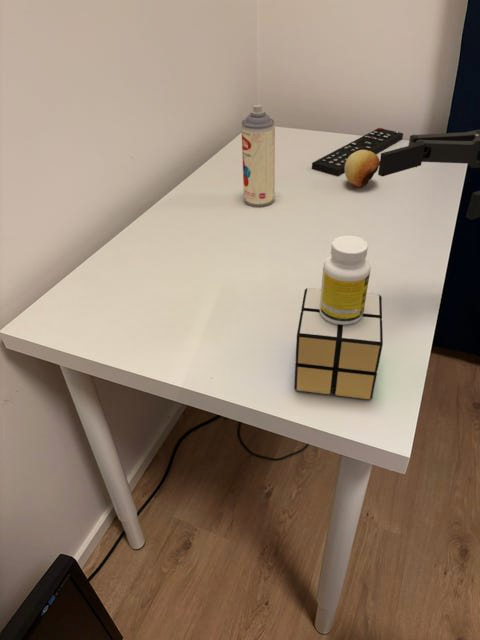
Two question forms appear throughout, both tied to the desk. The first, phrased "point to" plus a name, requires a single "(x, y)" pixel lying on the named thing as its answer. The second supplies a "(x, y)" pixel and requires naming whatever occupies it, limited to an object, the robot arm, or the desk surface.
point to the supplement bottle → (345, 281)
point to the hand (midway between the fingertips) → (422, 184)
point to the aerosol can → (258, 158)
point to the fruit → (361, 167)
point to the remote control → (369, 142)
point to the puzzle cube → (338, 350)
